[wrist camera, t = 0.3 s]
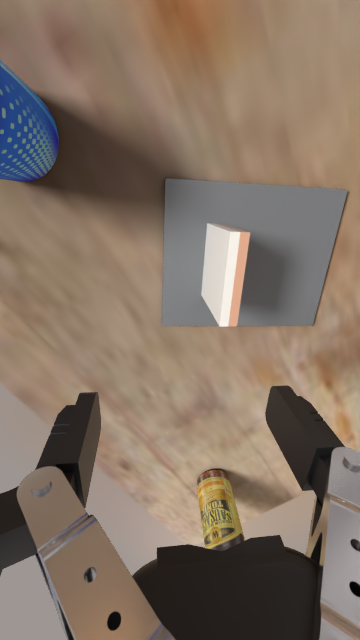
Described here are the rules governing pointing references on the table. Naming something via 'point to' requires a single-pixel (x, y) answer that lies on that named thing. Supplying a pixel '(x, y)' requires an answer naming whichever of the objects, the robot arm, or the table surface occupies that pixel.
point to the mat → (250, 248)
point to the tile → (224, 271)
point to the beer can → (24, 131)
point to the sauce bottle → (218, 511)
